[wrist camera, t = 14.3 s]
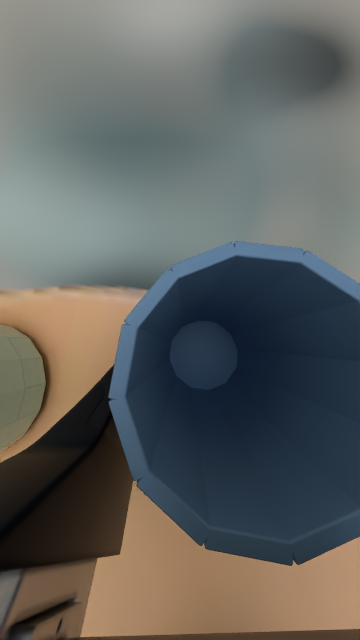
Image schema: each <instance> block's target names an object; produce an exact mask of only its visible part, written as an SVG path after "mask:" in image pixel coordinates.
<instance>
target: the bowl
mask: <svg viewBox="0 0 360 640" xmlns="http://www.w3.org/2000/svg"><path fill="white" fill-rule="evenodd" d="M45 386H46V380H45V373H44V367H43V360H42V357H41V355H40V354H39V352H38V350H37V349H36V347H35V346H34V344H33V343H32V341H31V339H30V338H29V337H27V336H26V335H24V334H22V333H21V332H19V331H18V330H16V329H14V328H13V327H11V326H7V325H0V453H2V452H3V451H5V450H6V449H7V448H8V447H10V446H11V445H12V444H13V443H15V442H16V441H17V440H19V439H20V438H21V437H22V436H23V435H25V433H26V432H27V430H28V428H29V427H30V425H31V424H32V422H33V420H34V419H35V417H36V416H37V414H38V413H39V411H40V408H41V404H42V399H43V395H44V390H45Z"/></svg>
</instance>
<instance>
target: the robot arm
mask: <svg viewBox="0 0 360 640" xmlns="http://www.w3.org/2000/svg"><path fill="white" fill-rule="evenodd" d="M114 365H115V364H114ZM114 365H113V366H112V367H111V368H110V369H109V371H108V372H107V373H106V374H105V375H104V376H103V377H102V378H101V381H98V383H97V384H96V385H95V386H94V387H93V388H92V389H91V390H90V391H89V392H88V393H87V394H86V395H85V396H84V397H83V398H82V399H81V400H80V401H79V402H78V403H77V404H76V405H75V406H74V407H73V408H72V409H71V410H70V411H69V412H68V413H67V414H66V415H65V416H64V417H62V418H61V419H60V420H59V421H58V422H57V423H56V424H55V425H54V426H53V427H52V428H51V429H50V430H49V431H48V432H46V433H45V434H44V435H43V436H42V437H41V438H40V439H39V440H37V441H36V442H35V443H34V444H32V445H31V446H29V447H28V448H27V449H25V450H23V451H22V452H20V453H18V454H17V455H15V456H13V457H11V458H9V459H7V460H5V461H3V462H1V463H0V640H360V629H348V630H314V631H280V632H246V633H213V634H179V635H145V636H111V637H80V636H81V631H82V626H83V622H84V617H85V613H86V608H87V603H88V599H89V594H90V589H91V585H92V580H93V576H94V571H95V566H96V562H97V558H101V557H107V556H114V555H119V554H120V550H121V545H122V540H123V534H124V528H125V523H126V517H127V511H128V506H129V500H130V494H131V489H132V483H133V478H132V475H131V472H130V469H129V466H128V462H127V459H126V456H125V453H124V450H123V447H122V443H121V440H120V437H119V434H118V431H117V428H116V424H115V421H114V418H113V415H112V412H111V409H110V406H109V401H110V400H111V398H109V391H110V386H111V380H112V375H113V370H114Z"/></svg>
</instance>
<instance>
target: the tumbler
mask: <svg viewBox="0 0 360 640" xmlns="http://www.w3.org/2000/svg"><path fill="white" fill-rule="evenodd" d="M124 321H125V323H127V324H123V325H122V328H121V333H120V338H119V344H118V349H117V354H116V359H115V365H114V370H113V375H112V380H111V386H110V391H109V398H111V400H110V401H109V406H110V409H111V412H112V415H113V418H114V421H115V424H116V428H117V431H118V434H119V437H120V440H121V443H122V447H123V450H124V453H125V456H126V459H127V462H128V466H129V469H130V472H131V475H132V478H133V481H137V480H138V481H137V487H138V488H139V489H140V490H141V491H142V492H143V493H144V494H145V495H146V496H148V497H149V498H150V499H151V500H152V501H153V502H154V503H155V504H156V505H157V506H158V507H159V508H160V509H161V510H162V511H163V512H165V513H166V514H167V515H168V516H169V517H170V518H171V519H172V520H173V521H174V522H175V523H176V524H177V525H178V526H179V527H180V528H182V529H183V530H184V531H185V532H186V533H187V534H188V535H189V536H190V537H191V538H192V539H193V540H194V541H195V542H196V543H197V544H199V545H200V546H202V545H203V543H204V545H205V548H206V549H207V550H213V551H218V552H223V553H228V554H233V555H238V556H243V557H248V558H254V559H259V560H264V561H269V562H274V563H279V564H284V565H289V566H292V565H293V559H294V561H295V563H296V564H297V565H300V564H302V563H304V562H306V561H308V560H310V559H312V558H315V557H317V556H319V555H321V554H323V553H325V552H327V551H330V550H332V549H334V548H336V547H338V546H340V545H342V544H345V543H347V542H349V541H351V540H353V539H355V538H357V537H359V536H360V283H358V282H356V281H355V280H353V279H352V278H350V277H349V276H347V275H345V274H344V273H342V272H341V271H339V270H338V269H336V268H334V267H333V266H331V265H330V264H328V263H327V262H325V261H323V260H322V259H320V258H319V257H317V256H316V255H314V254H312V253H311V252H309V251H305V252H303V249H301V248H292V247H283V246H274V245H265V244H256V243H247V242H238V241H236V242H235V243H234V244H233V243H232V242H230V243H227V244H225V245H222V246H220V247H217V248H215V249H212V250H210V251H207V252H205V253H202V254H199V255H197V256H195V257H192V258H189V259H187V260H184V261H182V262H179V263H177V264H174V265H172V266H171V270H170V269H166V270H165V272H164V273H163V274H162V275H161V276H160V278H159V279H158V280H157V281H156V283H155V284H154V285H153V286H152V287H151V289H150V290H149V291H148V292H147V293H146V295H145V296H144V297H143V298H142V299H141V301H140V302H139V303H138V304H137V305H136V307H135V308H134V309H133V310H132V311H131V313H130V314H129V315H128V316H127V317H126V319H125V320H124Z"/></svg>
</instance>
